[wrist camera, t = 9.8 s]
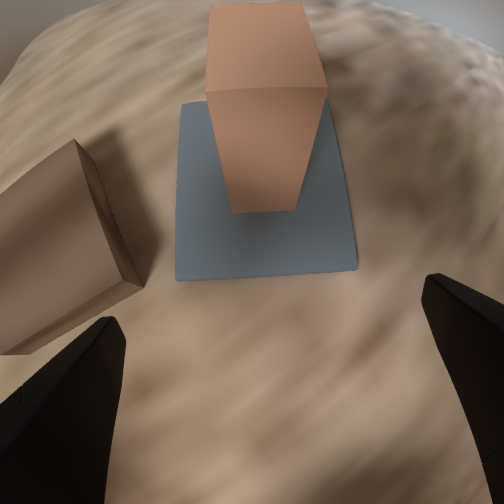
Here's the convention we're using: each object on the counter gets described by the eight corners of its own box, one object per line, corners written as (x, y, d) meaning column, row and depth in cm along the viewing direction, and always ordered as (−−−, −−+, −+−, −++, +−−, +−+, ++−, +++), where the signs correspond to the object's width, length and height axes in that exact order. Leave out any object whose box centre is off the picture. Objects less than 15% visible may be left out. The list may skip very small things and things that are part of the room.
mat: (355, 270, 17) (358, 268, 17) (177, 281, 17) (175, 280, 17) (325, 101, 20) (326, 97, 20) (183, 108, 20) (181, 104, 20)
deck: (143, 288, 17) (122, 279, 14) (29, 354, 16) (0, 355, 13) (93, 160, 20) (74, 138, 17) (-3, 231, 19) (-27, 219, 16)
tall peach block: (294, 210, 18) (328, 87, 8) (232, 213, 18) (205, 91, 8) (285, 136, 19) (301, 3, 9) (229, 139, 19) (210, 6, 9)
